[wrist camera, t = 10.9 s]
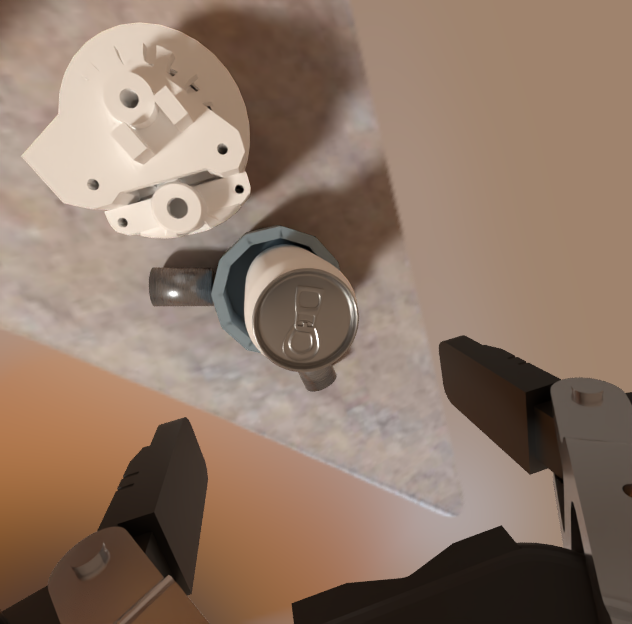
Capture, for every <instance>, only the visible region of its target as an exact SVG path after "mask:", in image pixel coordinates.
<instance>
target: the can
mask: <svg viewBox="0 0 632 624" xmlns="http://www.w3.org/2000/svg"><path fill="white" fill-rule="evenodd" d="M244 317H245V324H246V328H247V331H248V334H249V336H250V338H251V340H252V342H253V343H254V345H255V346H256V348H257V349H258V350H259V351H260V352H261V353H262V354H263V355H265V356H266V357H267V358H268V359H269V360H270V361H271V362H273V363H274V364H276V365H278V366H280V367H282V368H284V369H287V370H291V371H296V372H310V371H316V370H319V369H322V368H325V367H327V366H329V365H331V364H333V363H334V362H336V361H337V360H338V359H339V358H341V357H342V356H343V355H344V354H345V353H346V351H347V350H348V349H349V347H350V346H351V344H352V342H353V340H354V338H355V336H356V333H357V329H358V323H359V313H358V307H357V300H356V296H355V293H354V290H353V288H352V286H351V284H350V283H349V281H348V280H347V278H346V277H345V276H344V275H343V273H342V272H341V271H339V270H338V269H337V268H336V267H334V266H333V265H332V264H330V263H329V262H327V261H325V260H324V259H322V258H320V257H318V256H316V255H315V254H313V253H311V252H309V251H307V250H305V249H303V248H301V247H299V246H295V245H290V244H280V245H275V246H272V247H269V248H267V249H265V250H264V251H262V252H261V253H260V254H259V255H257V256H256V258H255V259H254V260H253V261H252V263H251V265H250V267H249V269H248V272H247V276H246V283H245V300H244Z"/></svg>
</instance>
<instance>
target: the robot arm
mask: <svg viewBox="0 0 632 624" xmlns="http://www.w3.org/2000/svg"><path fill="white" fill-rule="evenodd" d="M439 355H440V363H441V370H442V378H443V385H444V389H445V393H446V395H447V397H448V399H449V400H450V402H451V403H452V404H453V405H454V406H455V407H456V408H457V409H458V410H459V411H461V413H462V414H464V415H465V416H466V417H467V418H468V419H469V420H470V421H471V422H472V423H474V424H475V425H476V426H477V427H478V428H479V429H480V430H482V432H484V433H485V434H486V435H487V436H488V437H489V438H490V439H491V440H492V441H493V442H494V443H496V444H497V445H498V446H499V447H500V448H501V449H502V450H503V451H504V452H506V453H507V454H508V455H509V456H510V457H511V458H512V459H513V460H514V461H516V462H517V463H518V464H519V465H520V466H521V467H522V468H523V469H524V470H525V471H527V472H528V473H529V474H533V473H536V472H539V471H542V470H544V469H547V468H549V469H550V470H551V471H552V472H553V483H554V490H555V497H556V502H557V509H558V515H559V522H560V528H561V534H562V540H563V547H564V548H562V547H558V546H553V545H547V544H539V543H516V542H515V541H514V540H513V539H512V537H511V536H510V535H509V534H508V533H507V531H506V530H505V529H504V528H503V527H502V526H499V527H496V528H493V529H491V530H488V531H485V532H482V533H480V534H477V535H474V536H472V537H469V538H466V539H464V540H461V541H458V542H456V543H453V544H452V545H450V546H449V547H448V548H446V549H445V550H444V551H442V552H441V553H440V554H438V555H437V556H436V557H434V558H433V559H432V560H430V561H429V562H428V563H426V564H425V565H423V566H422V567H421V568H420V569H418V570H417V571H416V572H414V573H413V574H411V575H410V576H408V577H405V578H399V579H388V580H377V581H367V582H366V581H365V582H354V583H346V584H343V585H340V586H337V587H335V588H332V589H330V590H327V591H324V592H321V593H319V594H316V595H313V596H311V597H308V598H305V599H302V600H300V601H297V602H294V603H292V611H293V619H294V624H632V392H630V393H624V391H623V390H622V389H620V388H619V387H617V386H615V385H613V384H611V383H608V382H605V381H601V380H597V379H592V378H568V379H563V380H561V379H559V378H557V377H555V376H553V375H551V374H549V373H548V372H546V371H543V370H542V369H540V368H538V367H536V366H534V365H532V364H530V363H526V361H524V360H522V359H520V358H518V357H515V356H514V355H512V354H511V353H509V352H507V351H505V350H503V349H499V348H496V347H491V346H487V345H481V344H480V343H478V342H476V341H474V340H472V339H470V338H468V337H467V336H459V337H456V338H452V339H449V340H446V341H442V342H441V343H440V344H439ZM207 482H208V475H207V468H206V464H205V460H204V458H203V455H202V453H201V450H200V447H199V444H198V442H197V439H196V436H195V434H194V431H193V429H192V426H191V424H190V422H189V420H188V419H187V418H186V417H184V418H181V419H178V420H175V421H171V422H168V423H164V424H161V425H159V426H158V428H157V430H156V433H155V435H154V438H153V440H152V442H151V445H150V446H147V447H144V448H142V450H141V451H140V452H139V453H138V454H137V455H136V456H135V457H134V458H133V459H132V460H131V461H130V463H129V465H128V467H127V469H126V471H125V474H124V476H123V479H122V480H121V482H120V484H119V486H118V488H117V489H118V491H116V493H115V495H114V497H113V499H112V501H111V503H110V506H109V507H108V509H107V511H106V514H105V516H104V518H103V520H102V522H101V524H100V526H99V529H98V531H97V532H95V533H93V534H91V535H89V536H88V537H86V538H85V539H83V540H82V541H80V542H79V543H78V544H76V545H75V546H74V547H73V548H72V549H70V550H69V551H68V552H67V553H66V554H65V555H64V557H63V558H62V559H61V560H60V561H59V562H58V564H57V565H56V567H55V568H54V570H53V571H52V573H51V575H50V578H49V581H48V585H47V586H46V587H44V588H42V589H41V590H39V591H37V592H35V593H34V594H32V595H30V596H28V597H27V598H25V599H23V600H21V601H20V602H18V603H16V604H14V605H13V606H11V607H9V608H7V609H6V610H4V611H1V610H0V624H210V623H209V622H208V621H207V619H206V618H205V617H204V616H203V615H202V613H201V612H200V611H199V610H198V609H197V607H196V606H195V605H194V604H193V602H192V601H191V600H190V599H189V598H188V596H187V595H190V594H192V587H193V580H194V573H195V567H196V560H197V552H198V546H199V539H200V532H201V525H202V518H203V511H204V504H205V497H206V490H207Z"/></svg>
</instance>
